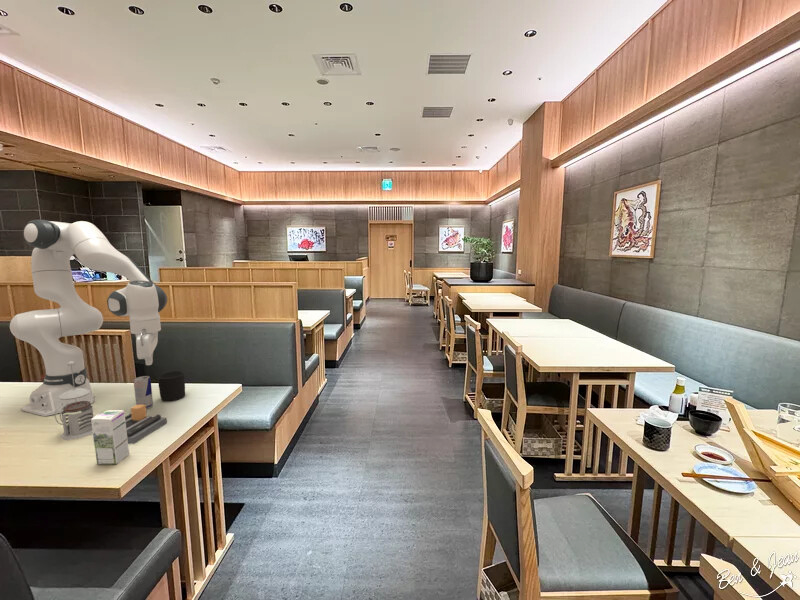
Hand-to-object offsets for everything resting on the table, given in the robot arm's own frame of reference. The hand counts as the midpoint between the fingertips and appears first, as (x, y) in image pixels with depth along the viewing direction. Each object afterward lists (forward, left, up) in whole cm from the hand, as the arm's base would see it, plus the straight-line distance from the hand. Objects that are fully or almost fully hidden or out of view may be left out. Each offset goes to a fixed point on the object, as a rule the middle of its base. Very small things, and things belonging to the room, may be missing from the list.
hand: (149, 364), depth 129 cm
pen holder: (-7, +18, -21) cm, 28 cm away
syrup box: (+8, -25, -21) cm, 34 cm away
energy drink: (-11, +8, -21) cm, 25 cm away
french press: (-17, -13, -21) cm, 30 cm away
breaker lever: (0, -6, -18) cm, 19 cm away
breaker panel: (0, -9, -21) cm, 23 cm away
